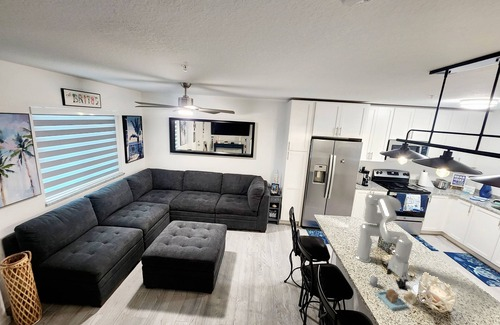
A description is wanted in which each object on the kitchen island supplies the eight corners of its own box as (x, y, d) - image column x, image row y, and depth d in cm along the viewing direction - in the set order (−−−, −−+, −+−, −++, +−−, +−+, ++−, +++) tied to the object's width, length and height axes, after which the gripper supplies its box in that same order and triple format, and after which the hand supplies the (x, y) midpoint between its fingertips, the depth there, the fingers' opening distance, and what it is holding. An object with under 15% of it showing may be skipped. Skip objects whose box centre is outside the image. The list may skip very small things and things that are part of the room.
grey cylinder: (368, 282, 151) (369, 276, 150) (373, 281, 152) (374, 276, 151) (372, 287, 147) (374, 281, 146) (378, 286, 148) (379, 280, 147)
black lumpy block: (393, 278, 158) (394, 273, 157) (404, 281, 155) (406, 276, 154) (398, 290, 146) (399, 284, 145) (410, 294, 144) (412, 288, 143)
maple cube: (403, 299, 138) (404, 292, 137) (407, 296, 141) (408, 290, 140) (411, 305, 134) (413, 298, 133) (415, 302, 136) (417, 296, 135)
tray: (376, 294, 141) (376, 292, 140) (390, 292, 143) (391, 290, 143) (391, 310, 129) (391, 307, 129) (406, 307, 132) (407, 305, 132)
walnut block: (385, 297, 138) (387, 289, 137) (390, 296, 139) (392, 288, 138) (391, 303, 134) (393, 295, 132) (396, 302, 135) (398, 294, 133)
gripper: (384, 248, 137) (379, 270, 141) (409, 267, 121) (402, 291, 125) (394, 247, 139) (388, 269, 143) (419, 266, 122) (412, 290, 126)
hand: (395, 279), depth 134 cm, fingers open, 9 cm apart
